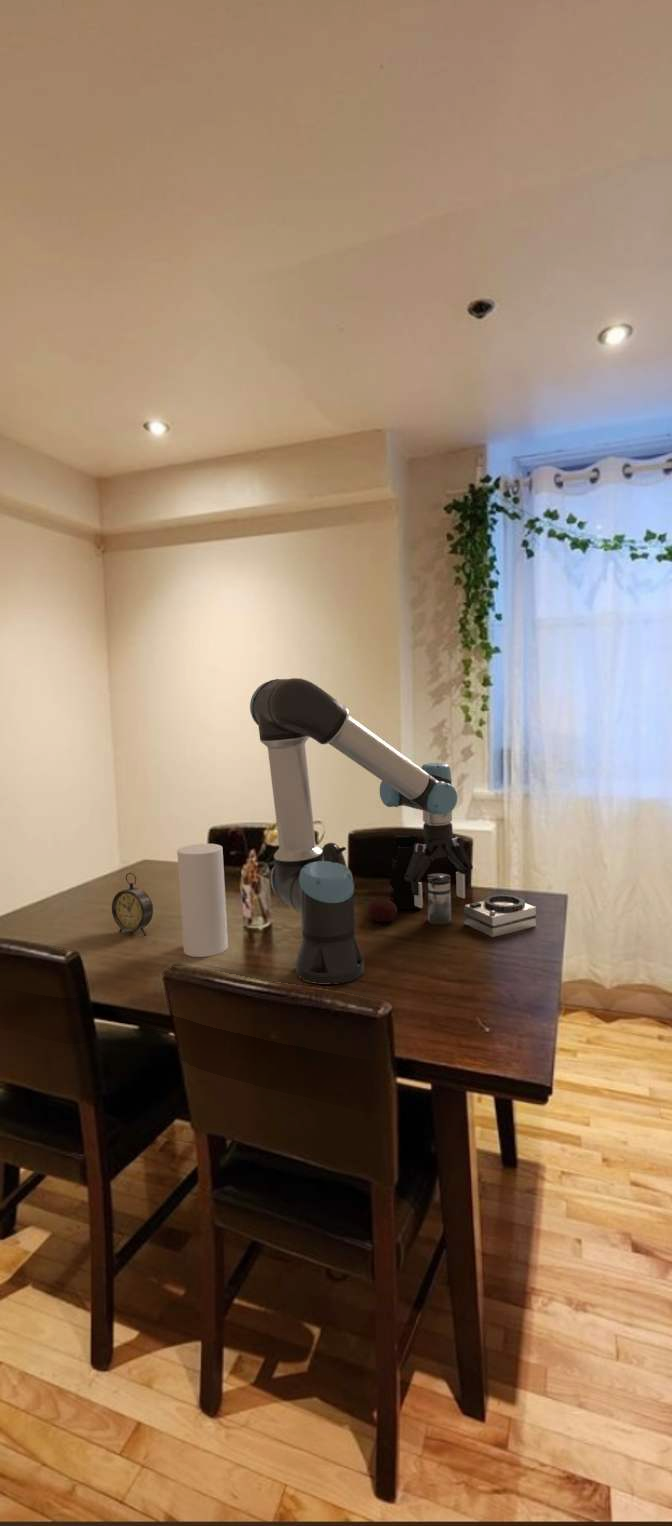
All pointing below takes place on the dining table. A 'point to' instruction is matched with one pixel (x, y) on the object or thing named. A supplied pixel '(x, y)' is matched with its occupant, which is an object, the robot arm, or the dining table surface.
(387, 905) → the potato
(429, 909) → the lens
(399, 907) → the camera
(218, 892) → the tall pillar cylinder
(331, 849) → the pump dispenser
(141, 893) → the alarm clock
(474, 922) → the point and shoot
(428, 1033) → the dining table surface
